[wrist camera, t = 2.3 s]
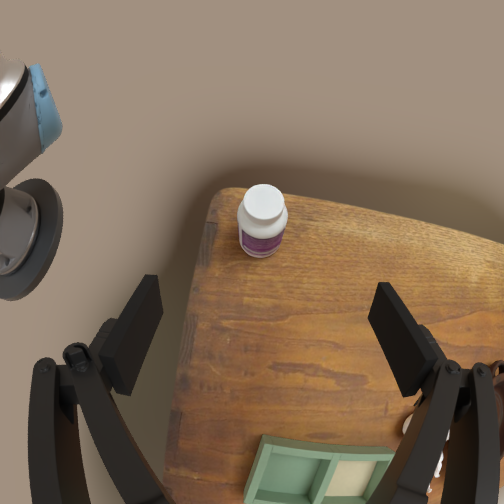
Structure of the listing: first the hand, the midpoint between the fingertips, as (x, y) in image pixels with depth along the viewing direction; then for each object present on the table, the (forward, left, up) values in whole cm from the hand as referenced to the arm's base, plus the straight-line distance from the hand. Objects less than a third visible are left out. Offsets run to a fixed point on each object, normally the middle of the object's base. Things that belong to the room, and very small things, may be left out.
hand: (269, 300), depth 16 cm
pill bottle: (-2, +10, -17) cm, 20 cm away
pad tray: (+13, -18, -17) cm, 28 cm away
